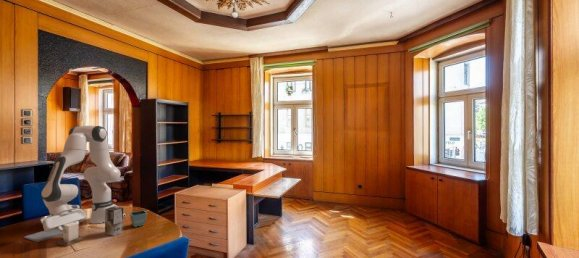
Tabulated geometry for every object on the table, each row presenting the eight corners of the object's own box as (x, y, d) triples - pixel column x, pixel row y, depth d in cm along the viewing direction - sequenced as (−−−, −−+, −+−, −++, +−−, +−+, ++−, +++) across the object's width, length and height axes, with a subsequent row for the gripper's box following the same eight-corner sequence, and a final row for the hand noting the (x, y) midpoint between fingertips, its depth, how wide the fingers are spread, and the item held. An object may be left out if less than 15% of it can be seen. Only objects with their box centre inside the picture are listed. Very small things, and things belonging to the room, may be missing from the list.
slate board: (59, 227, 173) (59, 226, 173) (73, 230, 168) (73, 229, 168) (24, 238, 156) (24, 236, 156) (38, 242, 151) (38, 240, 151)
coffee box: (123, 232, 167) (123, 207, 167) (113, 236, 161) (113, 210, 161) (114, 229, 171) (115, 205, 171) (104, 233, 165) (104, 208, 165)
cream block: (72, 238, 155) (73, 222, 155) (78, 239, 153) (78, 223, 153) (63, 241, 150) (63, 225, 150) (68, 243, 149) (68, 226, 149)
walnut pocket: (73, 238, 157) (73, 234, 157) (82, 240, 154) (82, 236, 154) (57, 243, 149) (57, 239, 149) (66, 246, 146) (66, 242, 146)
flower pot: (129, 225, 179) (129, 212, 179) (143, 222, 185) (144, 210, 185) (132, 229, 173) (132, 215, 173) (146, 226, 179) (147, 213, 179)
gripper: (41, 214, 145) (52, 234, 141) (81, 204, 164) (91, 222, 160) (36, 221, 146) (47, 241, 143) (77, 210, 165) (87, 227, 162)
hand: (71, 231), depth 152 cm, fingers closed on cream block, 5 cm apart
